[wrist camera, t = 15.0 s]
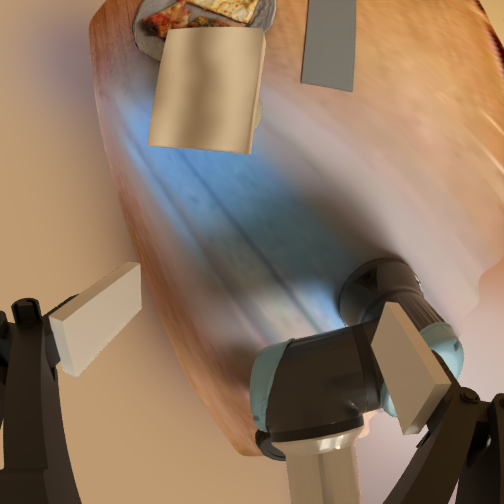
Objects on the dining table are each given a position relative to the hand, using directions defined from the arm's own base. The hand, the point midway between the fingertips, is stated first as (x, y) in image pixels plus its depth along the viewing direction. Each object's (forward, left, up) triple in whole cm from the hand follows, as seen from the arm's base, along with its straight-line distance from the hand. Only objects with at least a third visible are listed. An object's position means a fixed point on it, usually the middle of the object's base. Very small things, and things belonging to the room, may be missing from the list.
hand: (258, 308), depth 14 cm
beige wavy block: (+9, -15, -20) cm, 26 cm away
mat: (-5, -33, -32) cm, 46 cm away
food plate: (+17, -34, -32) cm, 50 cm away
